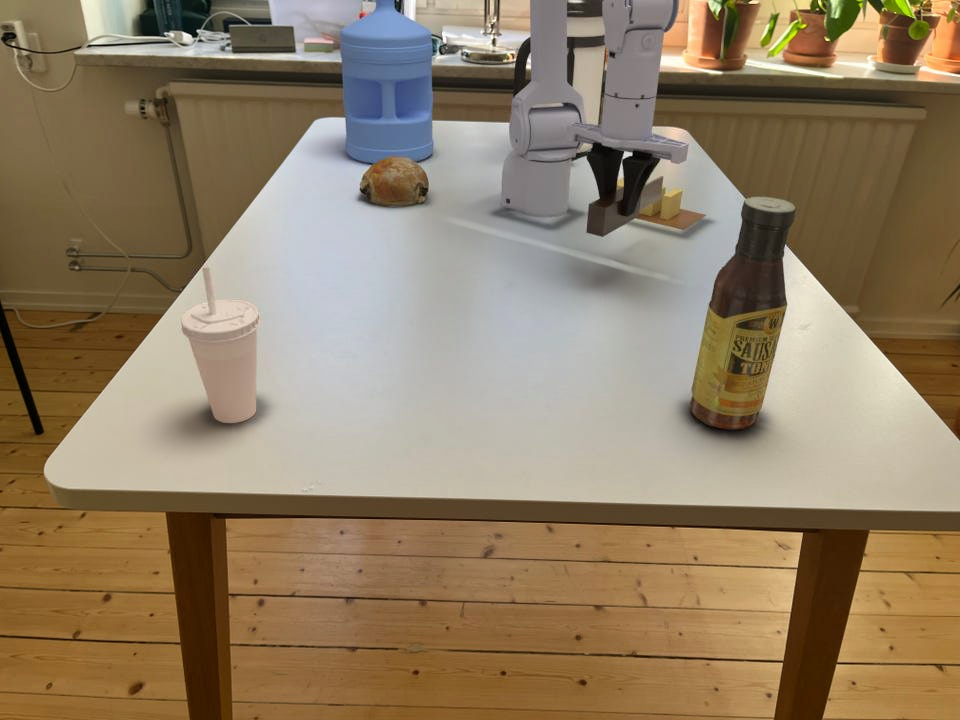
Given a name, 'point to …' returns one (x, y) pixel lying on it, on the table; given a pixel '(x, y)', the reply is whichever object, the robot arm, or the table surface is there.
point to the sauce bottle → (744, 319)
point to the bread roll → (395, 182)
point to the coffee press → (577, 58)
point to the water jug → (387, 86)
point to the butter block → (650, 208)
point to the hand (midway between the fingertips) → (617, 211)
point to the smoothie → (225, 352)
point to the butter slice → (671, 204)
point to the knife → (619, 208)
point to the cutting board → (675, 219)
